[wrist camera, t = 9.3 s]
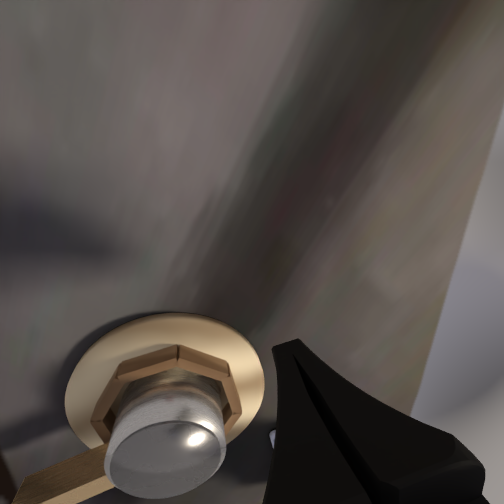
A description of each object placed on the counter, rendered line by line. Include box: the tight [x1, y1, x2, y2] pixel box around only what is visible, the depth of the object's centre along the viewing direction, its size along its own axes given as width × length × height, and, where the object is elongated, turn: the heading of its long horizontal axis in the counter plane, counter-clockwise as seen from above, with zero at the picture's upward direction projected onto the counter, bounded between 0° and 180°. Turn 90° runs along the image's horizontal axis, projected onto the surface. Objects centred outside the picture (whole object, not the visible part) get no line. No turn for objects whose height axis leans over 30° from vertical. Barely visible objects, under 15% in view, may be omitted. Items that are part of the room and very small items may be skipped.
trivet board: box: [65, 313, 264, 449], centre depth 23 cm, size 16×16×2 cm
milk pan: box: [12, 367, 226, 504], centre depth 20 cm, size 15×8×5 cm, turn 108°
